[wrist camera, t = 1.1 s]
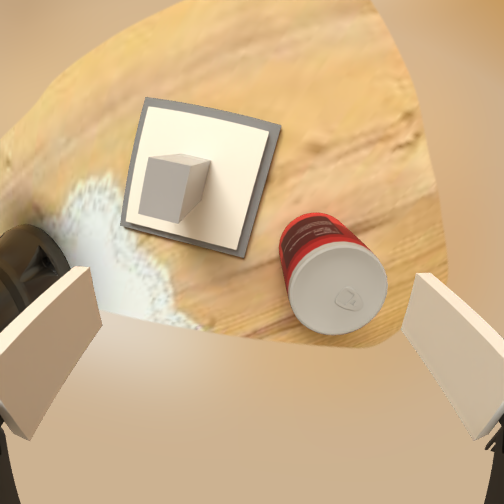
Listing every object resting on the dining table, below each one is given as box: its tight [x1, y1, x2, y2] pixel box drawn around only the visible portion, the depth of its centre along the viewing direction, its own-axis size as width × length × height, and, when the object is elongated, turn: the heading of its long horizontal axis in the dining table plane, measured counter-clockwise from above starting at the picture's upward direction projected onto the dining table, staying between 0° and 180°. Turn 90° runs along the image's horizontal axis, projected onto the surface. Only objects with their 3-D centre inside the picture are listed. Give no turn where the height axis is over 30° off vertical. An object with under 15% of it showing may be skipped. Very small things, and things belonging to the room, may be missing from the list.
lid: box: [126, 106, 269, 250], centre depth 23 cm, size 12×12×10 cm
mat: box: [120, 97, 281, 258], centre depth 28 cm, size 14×14×1 cm
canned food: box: [279, 213, 388, 335], centre depth 26 cm, size 8×8×11 cm
